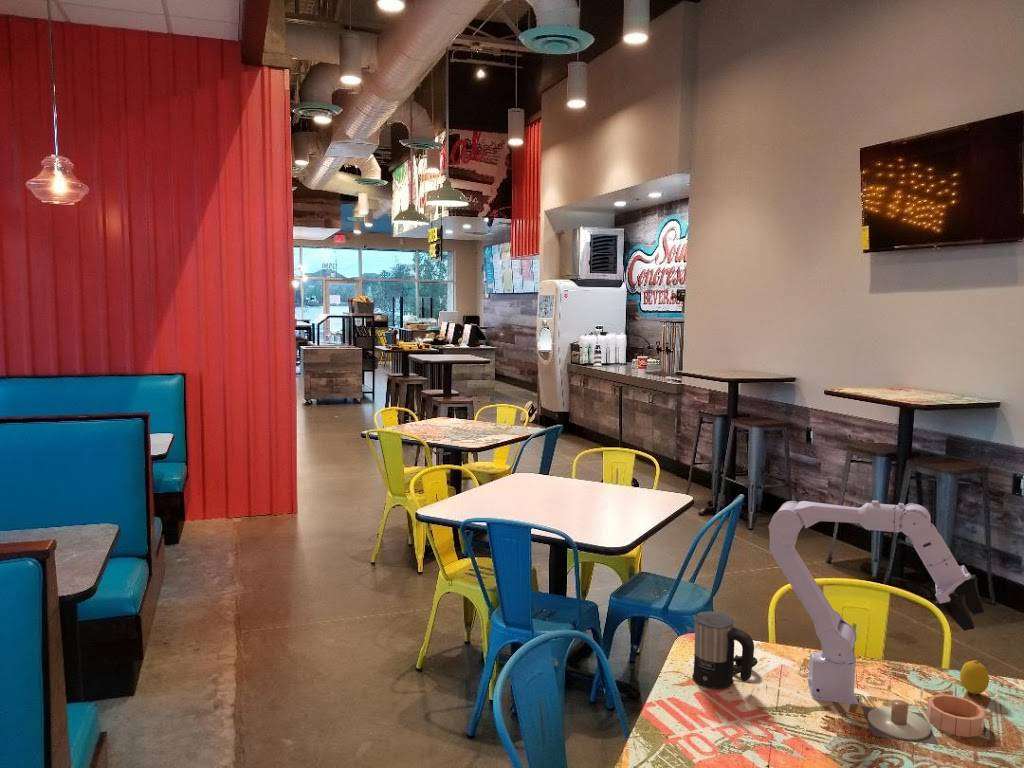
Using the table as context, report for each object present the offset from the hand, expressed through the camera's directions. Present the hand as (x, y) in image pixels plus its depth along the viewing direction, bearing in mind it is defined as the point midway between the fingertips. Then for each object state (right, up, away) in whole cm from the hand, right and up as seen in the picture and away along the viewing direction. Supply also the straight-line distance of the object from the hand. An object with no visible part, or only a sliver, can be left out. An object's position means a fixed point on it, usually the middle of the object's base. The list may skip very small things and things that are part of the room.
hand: (974, 620), depth 159 cm
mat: (-15, -22, +2) cm, 27 cm away
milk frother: (-45, -20, +23) cm, 54 cm away
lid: (-14, -22, +2) cm, 26 cm away
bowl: (-2, -22, +3) cm, 23 cm away
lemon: (+9, -21, +15) cm, 28 cm away
